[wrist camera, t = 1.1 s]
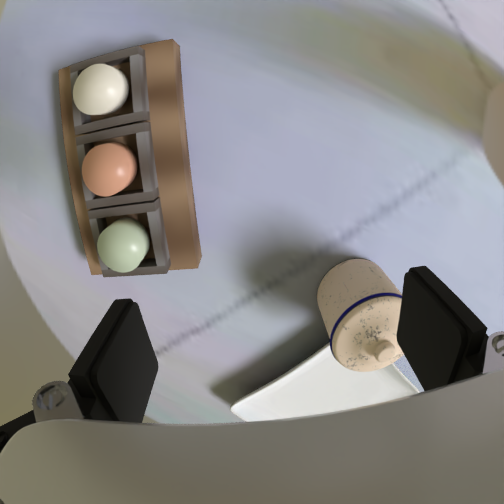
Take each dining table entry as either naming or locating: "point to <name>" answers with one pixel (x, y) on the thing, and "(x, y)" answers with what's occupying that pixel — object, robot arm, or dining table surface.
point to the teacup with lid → (360, 315)
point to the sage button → (123, 244)
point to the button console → (148, 159)
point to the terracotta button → (109, 168)
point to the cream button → (100, 90)
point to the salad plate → (322, 390)
